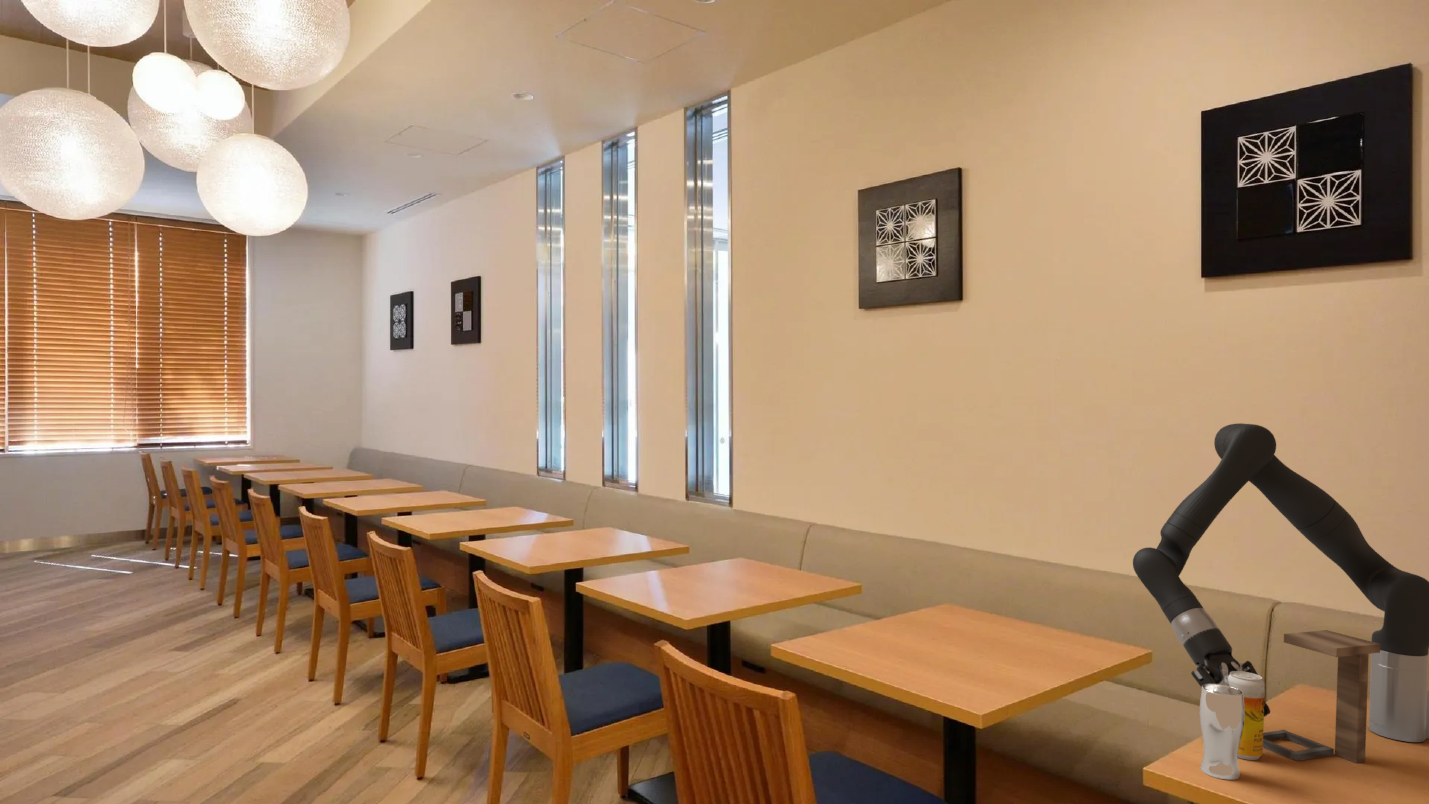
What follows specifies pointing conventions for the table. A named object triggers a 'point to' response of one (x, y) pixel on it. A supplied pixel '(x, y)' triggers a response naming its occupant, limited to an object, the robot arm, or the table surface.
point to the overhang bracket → (1348, 701)
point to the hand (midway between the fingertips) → (1253, 716)
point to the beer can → (1250, 713)
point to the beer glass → (1221, 729)
